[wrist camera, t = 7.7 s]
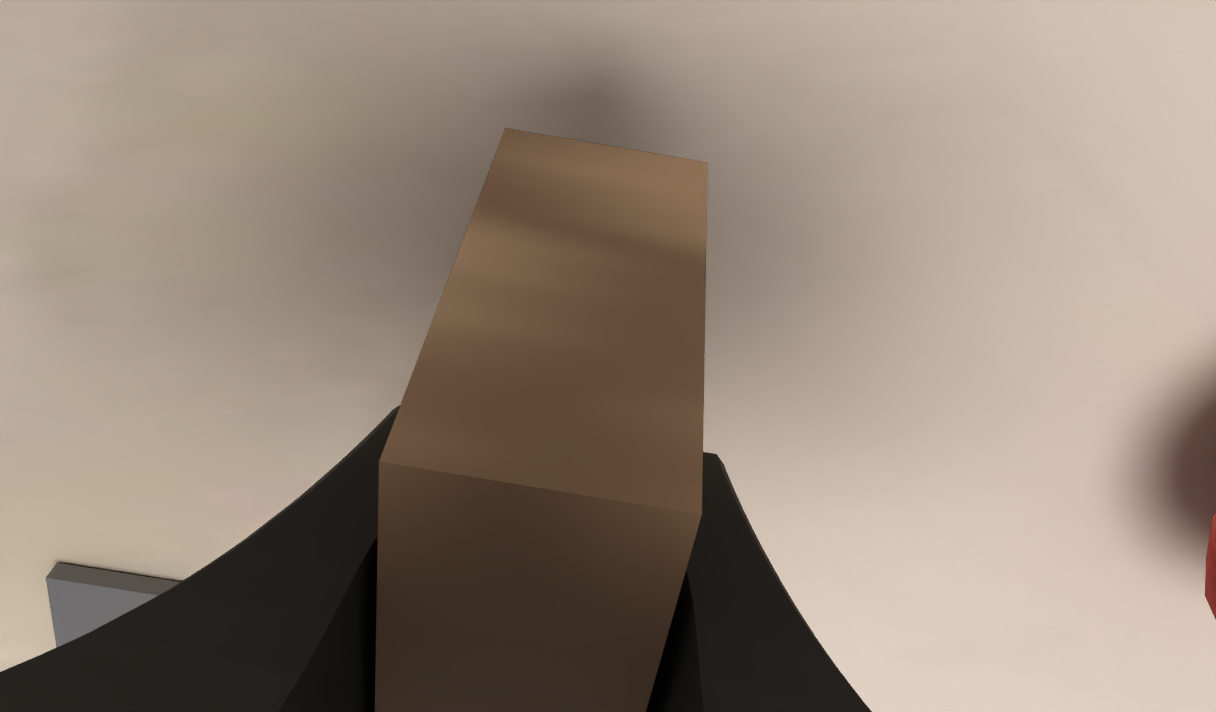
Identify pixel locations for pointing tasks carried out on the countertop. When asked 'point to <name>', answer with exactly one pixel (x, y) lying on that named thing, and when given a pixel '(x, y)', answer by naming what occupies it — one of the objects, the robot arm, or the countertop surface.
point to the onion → (1211, 568)
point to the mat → (95, 597)
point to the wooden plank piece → (549, 441)
